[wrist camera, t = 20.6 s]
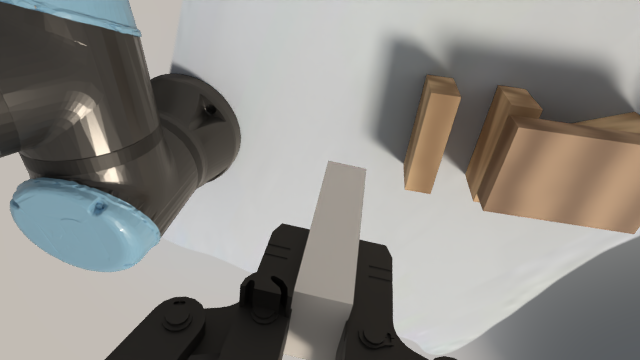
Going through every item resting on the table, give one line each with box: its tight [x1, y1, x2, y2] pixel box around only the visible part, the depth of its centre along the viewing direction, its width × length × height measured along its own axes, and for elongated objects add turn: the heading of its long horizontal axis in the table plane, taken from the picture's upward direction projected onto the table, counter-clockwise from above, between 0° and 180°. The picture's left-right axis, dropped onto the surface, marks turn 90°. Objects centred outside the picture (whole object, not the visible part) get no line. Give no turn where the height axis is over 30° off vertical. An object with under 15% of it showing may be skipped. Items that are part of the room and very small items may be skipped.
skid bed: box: [404, 75, 543, 202], centre depth 45 cm, size 11×12×6 cm
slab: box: [477, 115, 640, 234], centre depth 40 cm, size 16×10×3 cm, turn 84°
